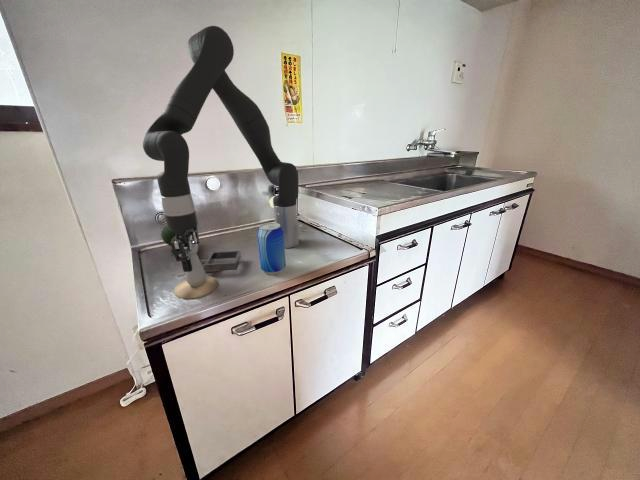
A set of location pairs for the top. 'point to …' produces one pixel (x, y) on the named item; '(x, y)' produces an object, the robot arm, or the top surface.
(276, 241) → the beer can
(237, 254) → the ring stand
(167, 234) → the toy figurine
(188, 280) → the salt shaker
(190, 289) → the disc
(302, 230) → the top surface
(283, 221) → the robot arm
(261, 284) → the top surface
